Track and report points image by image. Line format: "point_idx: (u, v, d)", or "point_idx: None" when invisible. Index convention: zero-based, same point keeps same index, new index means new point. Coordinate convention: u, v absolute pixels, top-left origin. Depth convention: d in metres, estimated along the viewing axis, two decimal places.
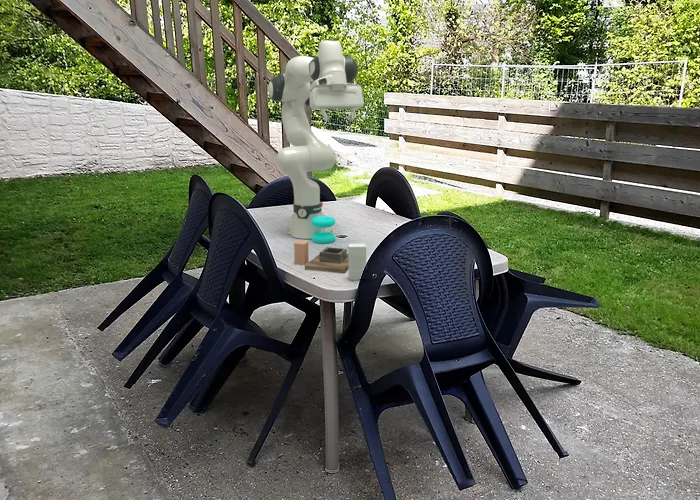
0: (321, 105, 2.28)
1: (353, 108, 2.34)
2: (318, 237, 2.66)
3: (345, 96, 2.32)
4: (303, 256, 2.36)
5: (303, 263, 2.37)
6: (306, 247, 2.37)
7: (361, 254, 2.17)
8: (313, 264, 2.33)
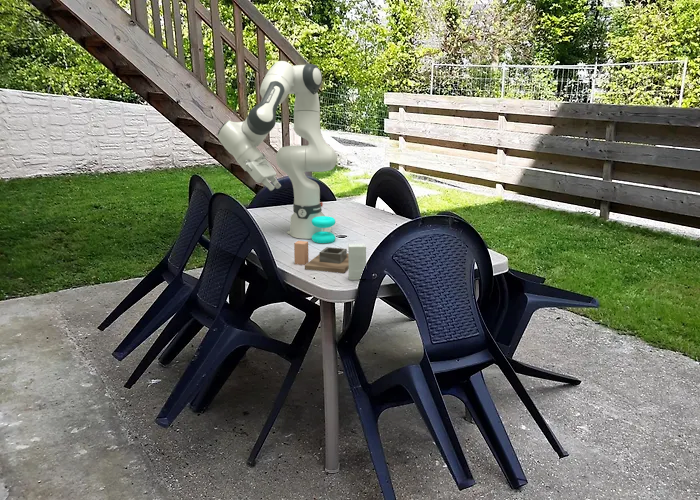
0: None
1: None
2: (318, 237, 2.66)
3: None
4: (303, 256, 2.36)
5: (303, 263, 2.37)
6: (306, 247, 2.37)
7: (361, 254, 2.17)
8: (313, 264, 2.33)
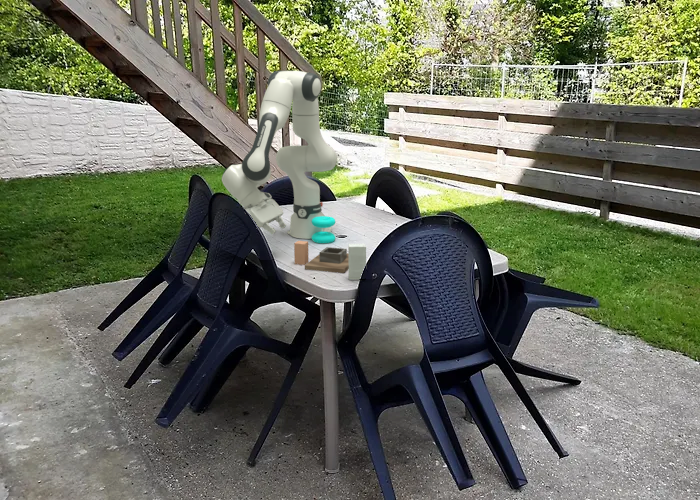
0: None
1: None
2: (318, 237, 2.66)
3: None
4: (303, 256, 2.36)
5: (303, 263, 2.37)
6: (306, 247, 2.37)
7: (361, 254, 2.17)
8: (313, 264, 2.33)
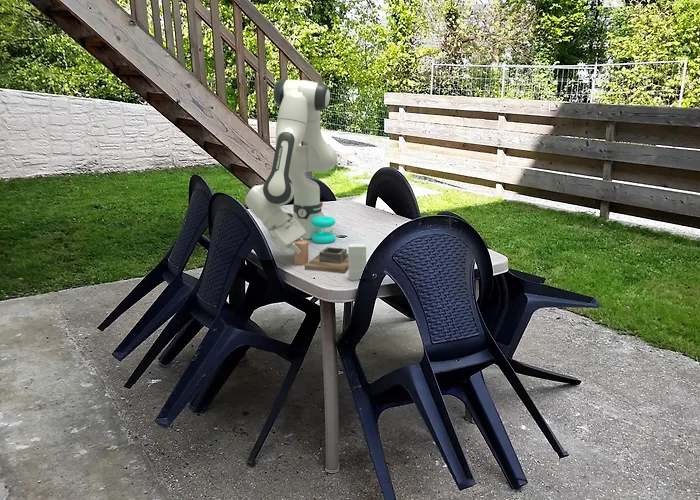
0: None
1: None
2: (318, 237, 2.66)
3: None
4: (303, 256, 2.36)
5: (303, 263, 2.37)
6: (306, 247, 2.37)
7: (361, 254, 2.17)
8: (313, 264, 2.33)
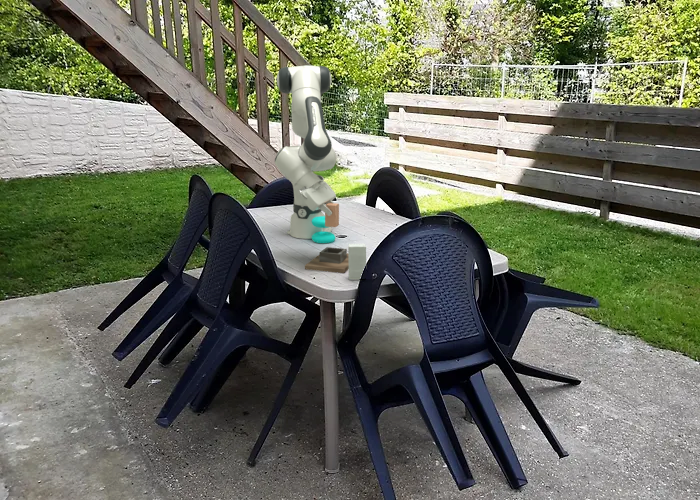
0: None
1: None
2: (318, 237, 2.66)
3: None
4: (333, 218, 2.31)
5: (334, 225, 2.32)
6: (337, 209, 2.32)
7: (361, 254, 2.17)
8: (313, 264, 2.33)
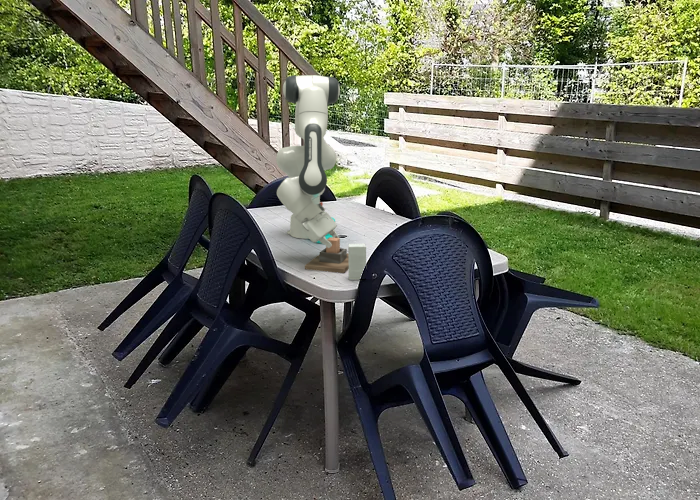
0: None
1: None
2: None
3: None
4: None
5: None
6: (338, 244, 2.36)
7: (361, 254, 2.17)
8: (313, 264, 2.33)
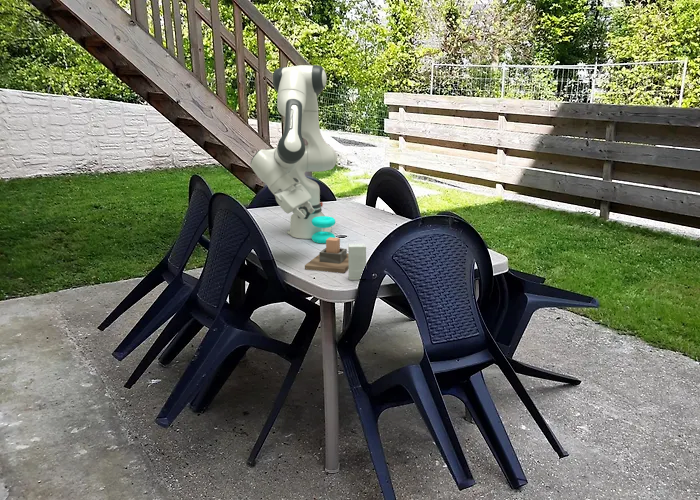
0: None
1: None
2: (318, 237, 2.66)
3: None
4: None
5: None
6: (338, 244, 2.36)
7: (361, 254, 2.17)
8: (313, 264, 2.33)
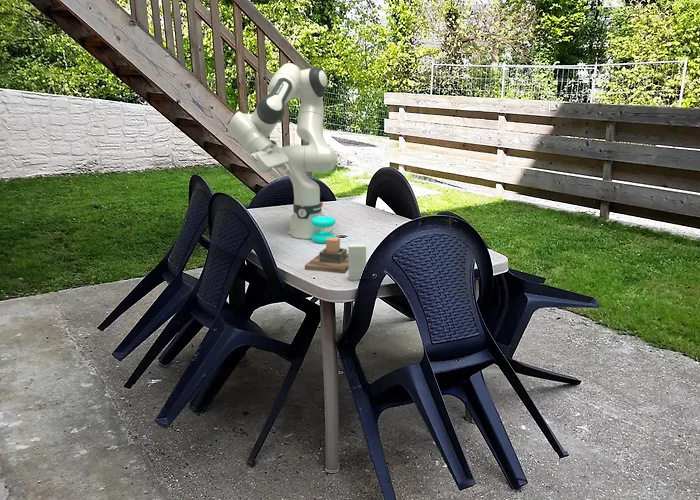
0: None
1: None
2: (318, 237, 2.66)
3: None
4: None
5: None
6: (338, 244, 2.36)
7: (361, 254, 2.17)
8: (313, 264, 2.33)
